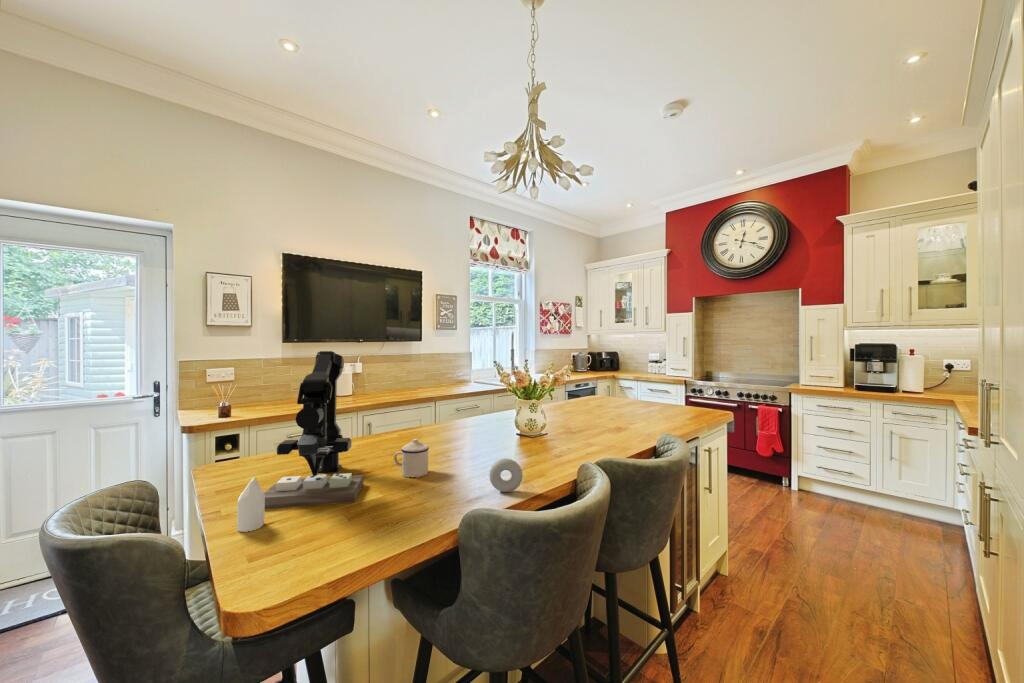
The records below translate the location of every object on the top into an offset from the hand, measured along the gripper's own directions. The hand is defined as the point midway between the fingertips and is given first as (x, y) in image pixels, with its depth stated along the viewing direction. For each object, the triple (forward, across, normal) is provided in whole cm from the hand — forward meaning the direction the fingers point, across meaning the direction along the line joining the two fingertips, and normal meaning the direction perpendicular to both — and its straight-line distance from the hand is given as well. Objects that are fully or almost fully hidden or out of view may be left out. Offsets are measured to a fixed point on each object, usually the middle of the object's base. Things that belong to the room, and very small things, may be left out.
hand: (315, 475), depth 114 cm
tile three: (+4, +7, 0) cm, 8 cm away
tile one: (+4, -7, 0) cm, 8 cm away
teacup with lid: (+6, +26, +15) cm, 31 cm away
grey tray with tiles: (+6, 0, 0) cm, 6 cm away
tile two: (+4, 0, 0) cm, 4 cm away
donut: (+6, +55, -7) cm, 56 cm away
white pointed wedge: (+6, -10, -18) cm, 21 cm away
